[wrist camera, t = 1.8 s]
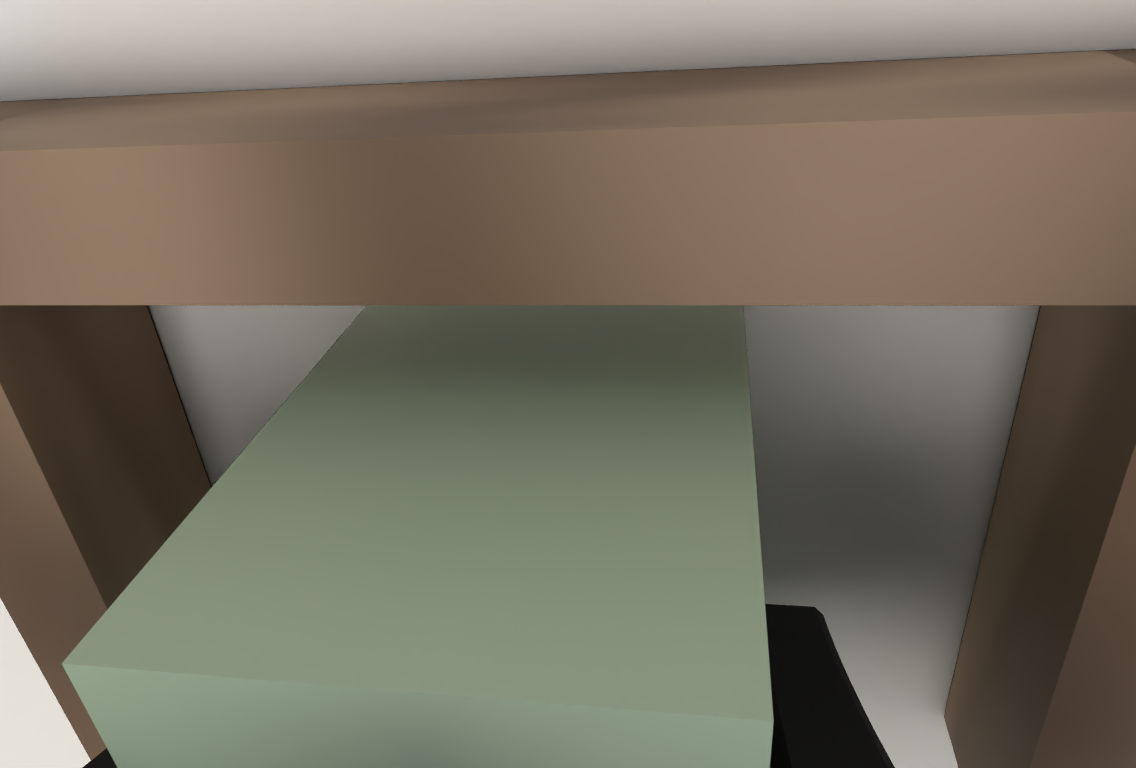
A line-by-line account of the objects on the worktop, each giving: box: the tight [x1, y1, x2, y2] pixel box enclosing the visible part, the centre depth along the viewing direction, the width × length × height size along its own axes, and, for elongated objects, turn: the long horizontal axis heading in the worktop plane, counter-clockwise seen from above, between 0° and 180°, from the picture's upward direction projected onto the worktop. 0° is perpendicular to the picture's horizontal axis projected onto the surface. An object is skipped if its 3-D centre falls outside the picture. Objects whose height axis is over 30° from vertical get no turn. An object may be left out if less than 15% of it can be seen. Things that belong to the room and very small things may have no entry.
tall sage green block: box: [62, 305, 774, 768], centre depth 10 cm, size 4×8×6 cm, turn 4°
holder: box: [0, 49, 1136, 768], centre depth 10 cm, size 14×10×2 cm
